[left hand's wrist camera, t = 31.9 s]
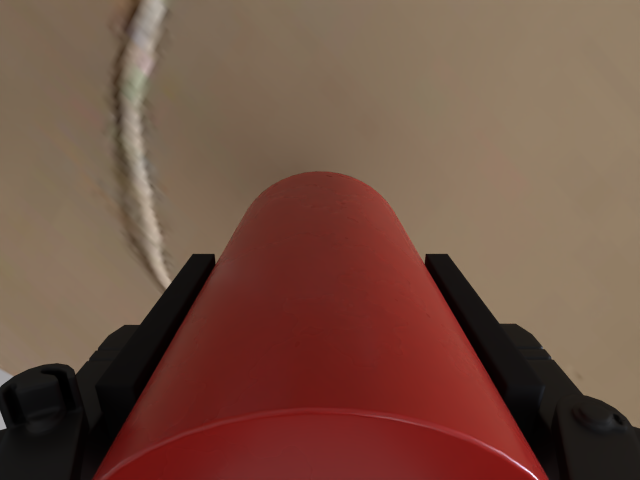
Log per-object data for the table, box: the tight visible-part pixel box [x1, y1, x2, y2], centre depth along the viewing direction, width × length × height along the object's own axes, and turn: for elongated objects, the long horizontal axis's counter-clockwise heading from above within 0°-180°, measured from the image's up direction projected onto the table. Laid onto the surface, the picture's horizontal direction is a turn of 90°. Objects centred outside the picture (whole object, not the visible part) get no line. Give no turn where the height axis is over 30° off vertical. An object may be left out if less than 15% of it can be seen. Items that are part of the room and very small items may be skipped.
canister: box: [92, 171, 549, 480], centre depth 12 cm, size 7×7×13 cm
